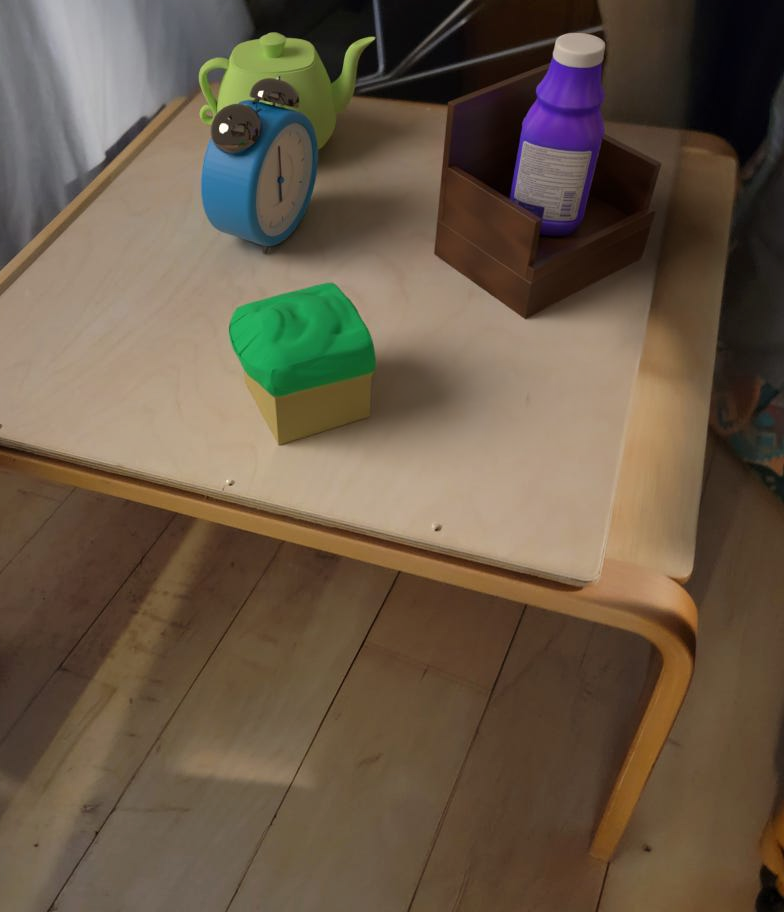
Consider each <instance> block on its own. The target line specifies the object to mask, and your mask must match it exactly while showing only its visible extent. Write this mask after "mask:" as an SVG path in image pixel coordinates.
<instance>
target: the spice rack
mask: <svg viewBox="0 0 784 912" xmlns="http://www.w3.org/2000/svg"><path fill="white" fill-rule="evenodd" d="M550 63H551V62H549V63H546V64H543V65H541V66H537V67H536V68H533V69H530V70H528V71H525V72H522V73H520V74H517V75H515V76H512V77H510V78H508V79H504V80H501V81H499V82H496V83H494V84H492V85H489V86H487V87H484V88H481V89H479V90H476V91H473V92H470V93H468V94H465V95H462V96H460V97H457V98H455V99H453V100H450V101H448V102H447V111H446V120H445V121H446V122H445V132H444V141H443V155H442V164H441V165H442V166H441V175H440V184H439V185H440V186H439V197H438V206H437V207H438V208H437V220H436V230H435V241H434V251H433V255H435V256H436V257H438V258H439V259H440V260H442V261H444V262H445V263H446V264H447V265H449V266H450V267H451V268H453V269H454V270H456V271H457V272H459V273H460V274H462V275H463V276H464V277H465V278H467V279H469V280H470V281H471V282H473V283H474V284H475V285H477V286H478V287H479V288H481V289H482V290H484V291H485V292H487V293H488V294H490V295H491V296H492V297H494V298H495V299H496V300H498V301H499V302H501V303H502V304H503V305H505V306H506V307H508V308H509V309H511V311H513V312H514V313H516V314H517V315H519V316H520V317H521V318H523V319H525V320H526V319H528V318H529V317H531V316H534V315H535V314H538V313H539V312H541V311H543V310H545V309H547V308H548V307H549V308H550V307H551V306H553V305H554V304H557V303H558V302H560V301H563V300H564V299H566V298H568V297H570V296H572V295H574V294H575V293H577V292H579V291H581V290H583V289H585V288H587V287H589V286H591V285H593V284H594V283H596V282H599V281H600V280H602V279H604V278H606V277H608V276H610V275H612V274H613V273H615V272H618V271H620V270H621V269H623V268H625V267H627V266H629V265H631V264H633V263H635V262H636V261H638V260H640V259H642V258H643V255H644V252H645V248H646V245H647V241H648V238H649V235H650V231H651V229H652V225H653V221H654V218H655V215H656V212H657V209H655V208H653V207H652V206H650V205H651V202H652V200H653V199H652V198H653V195H654V191H655V189H656V186H657V185H656V184H657V180H658V178H659V174H660V171H661V167H662V164H663V163H662V162H660V161H658V160H656V159H654V158H653V157H651V156H649V155H647V154H644V153H643V152H641V151H639V150H637V149H635V148H633V147H631V146H629V145H627V144H625V143H623V142H621V141H620V140H618V139H615V138H614V137H612V136H610V135H608V134H606V133H604V136H603V138H602V141H601V145H600V149H599V153H598V157H597V162H596V166H595V170H594V174H593V178H592V182H591V186H590V190H589V194H588V198H587V202H586V207H585V212H584V217H583V219H582V220H581V221H580V223H579V225H578V227H577V228H576V229H575V230H574V231H573V232H572V233H570V234H569V235H566V236H548V235H541V234H540V229H541V224H542V219H541V218H539V217H538V216H536V215H534V214H533V213H531V212H529V211H528V210H526V209H525V208H523V207H521V206H520V205H518V204H517V203H515V202H513V201H512V200H510V195H511V189H512V183H513V177H514V171H515V166H516V160H517V154H518V148H519V143H520V136H521V131H522V123H523V120H524V118H525V117H526V115H527V113H528V111H529V110H530V108H531V107H532V105H533V104H534V103H535V102H536V100H537V98H538V97H537V94H536V88H537V86H538V85H539V84H540V83H541V81H542V80H543V78H544V77H545V75H546V74H547V71H548V69H549V67H550Z"/></svg>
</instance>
